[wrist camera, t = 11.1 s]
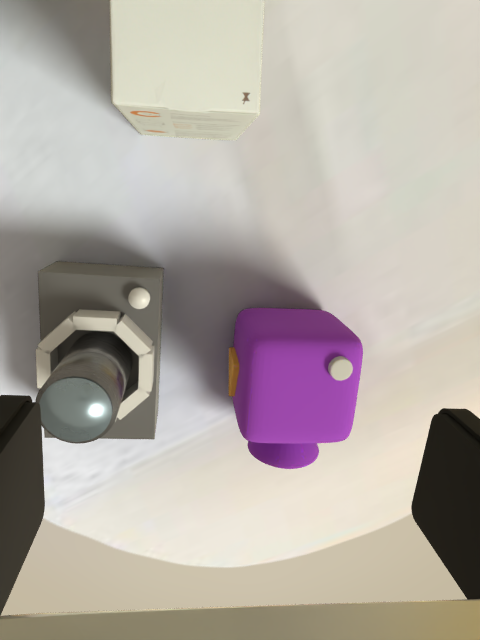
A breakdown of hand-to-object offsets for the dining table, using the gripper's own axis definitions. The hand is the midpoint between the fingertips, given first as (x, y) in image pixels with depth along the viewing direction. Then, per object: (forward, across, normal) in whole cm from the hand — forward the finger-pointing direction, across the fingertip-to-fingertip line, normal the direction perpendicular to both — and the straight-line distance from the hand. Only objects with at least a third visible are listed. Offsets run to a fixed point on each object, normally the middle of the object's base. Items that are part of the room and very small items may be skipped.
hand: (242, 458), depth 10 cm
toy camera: (+30, -8, +10) cm, 33 cm away
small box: (+30, +2, -13) cm, 33 cm away
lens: (+25, +8, +8) cm, 28 cm away
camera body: (+30, +8, +8) cm, 32 cm away
